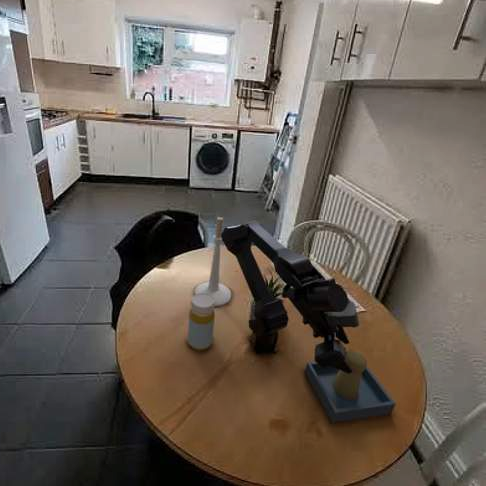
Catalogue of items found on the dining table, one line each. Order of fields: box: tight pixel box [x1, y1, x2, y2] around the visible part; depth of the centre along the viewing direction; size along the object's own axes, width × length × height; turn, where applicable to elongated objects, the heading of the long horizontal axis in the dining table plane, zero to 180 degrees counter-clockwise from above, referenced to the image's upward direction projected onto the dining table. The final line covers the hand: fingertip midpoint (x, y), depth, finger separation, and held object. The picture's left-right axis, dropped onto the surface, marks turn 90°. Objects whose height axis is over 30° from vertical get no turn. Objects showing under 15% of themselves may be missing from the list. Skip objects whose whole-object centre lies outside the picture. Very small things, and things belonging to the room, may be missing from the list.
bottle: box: [187, 293, 216, 351], centre depth 86 cm, size 7×7×15 cm
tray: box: [304, 360, 396, 424], centre depth 77 cm, size 16×14×4 cm
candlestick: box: [194, 216, 232, 307], centre depth 104 cm, size 13×13×30 cm
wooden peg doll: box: [333, 349, 368, 400], centre depth 75 cm, size 6×6×11 cm
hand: (348, 357), depth 74 cm, fingers open, 9 cm apart
